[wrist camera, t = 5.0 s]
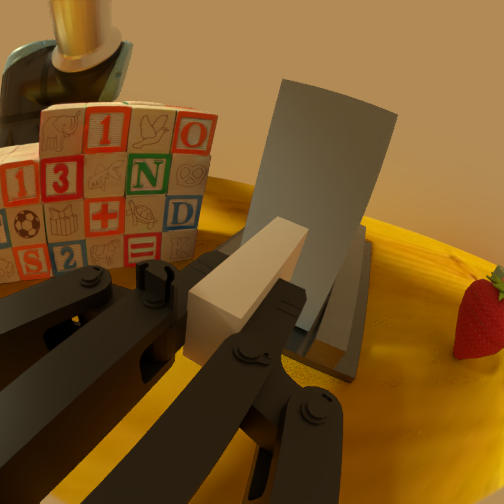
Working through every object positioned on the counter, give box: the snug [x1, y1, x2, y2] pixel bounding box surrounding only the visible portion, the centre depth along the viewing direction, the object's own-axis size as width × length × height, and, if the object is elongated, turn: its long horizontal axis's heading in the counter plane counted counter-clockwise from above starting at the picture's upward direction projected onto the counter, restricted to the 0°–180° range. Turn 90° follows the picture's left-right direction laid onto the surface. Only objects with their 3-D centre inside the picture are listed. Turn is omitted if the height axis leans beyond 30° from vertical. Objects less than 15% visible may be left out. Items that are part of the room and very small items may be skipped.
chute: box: [213, 225, 371, 383], centre depth 25 cm, size 14×23×5 cm, turn 155°
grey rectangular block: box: [240, 79, 398, 332], centre depth 17 cm, size 6×5×14 cm
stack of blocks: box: [0, 101, 218, 284], centre depth 16 cm, size 21×6×12 cm, turn 122°
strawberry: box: [453, 272, 504, 360], centre depth 16 cm, size 6×8×10 cm
